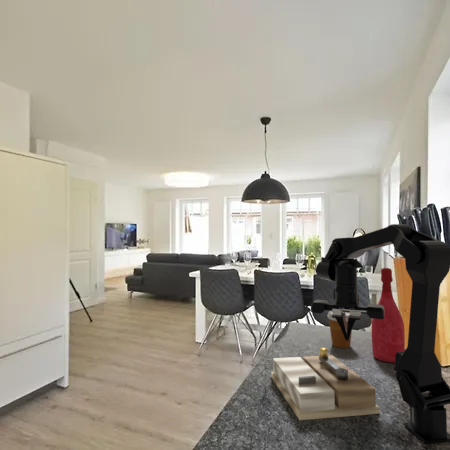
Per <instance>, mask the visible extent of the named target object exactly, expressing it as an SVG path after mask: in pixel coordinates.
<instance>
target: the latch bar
mask: <svg viewBox="0 0 450 450" xmlns="http://www.w3.org/2000/svg"><path fill="white" fill-rule="evenodd" d="M328 355H329V348H327V347H321V346H320V347H319V355H318V356H319V360H320V361H321V362H322V363H323V364H325V365H326V366H327V367H328V368H329V369H330V370H331V371H333V372H334V373H335V374H336V377H337V378H339V379H343V380H345V379H348V370H346V369H343V368H341V367H339V366H338V365H337V364H336V363H334V362H333V361H332V360H331V359H329V358H328Z"/></svg>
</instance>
